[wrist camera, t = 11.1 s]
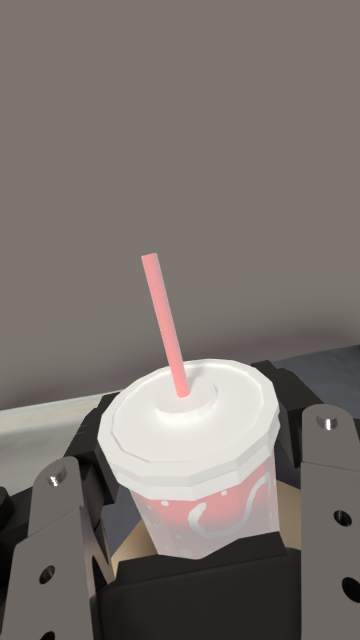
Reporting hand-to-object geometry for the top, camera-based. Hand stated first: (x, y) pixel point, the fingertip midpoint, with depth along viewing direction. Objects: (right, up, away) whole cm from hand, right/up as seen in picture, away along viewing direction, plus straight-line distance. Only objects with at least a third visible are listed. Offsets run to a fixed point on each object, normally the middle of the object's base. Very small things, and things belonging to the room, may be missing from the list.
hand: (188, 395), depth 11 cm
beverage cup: (+2, -8, 0) cm, 8 cm away
